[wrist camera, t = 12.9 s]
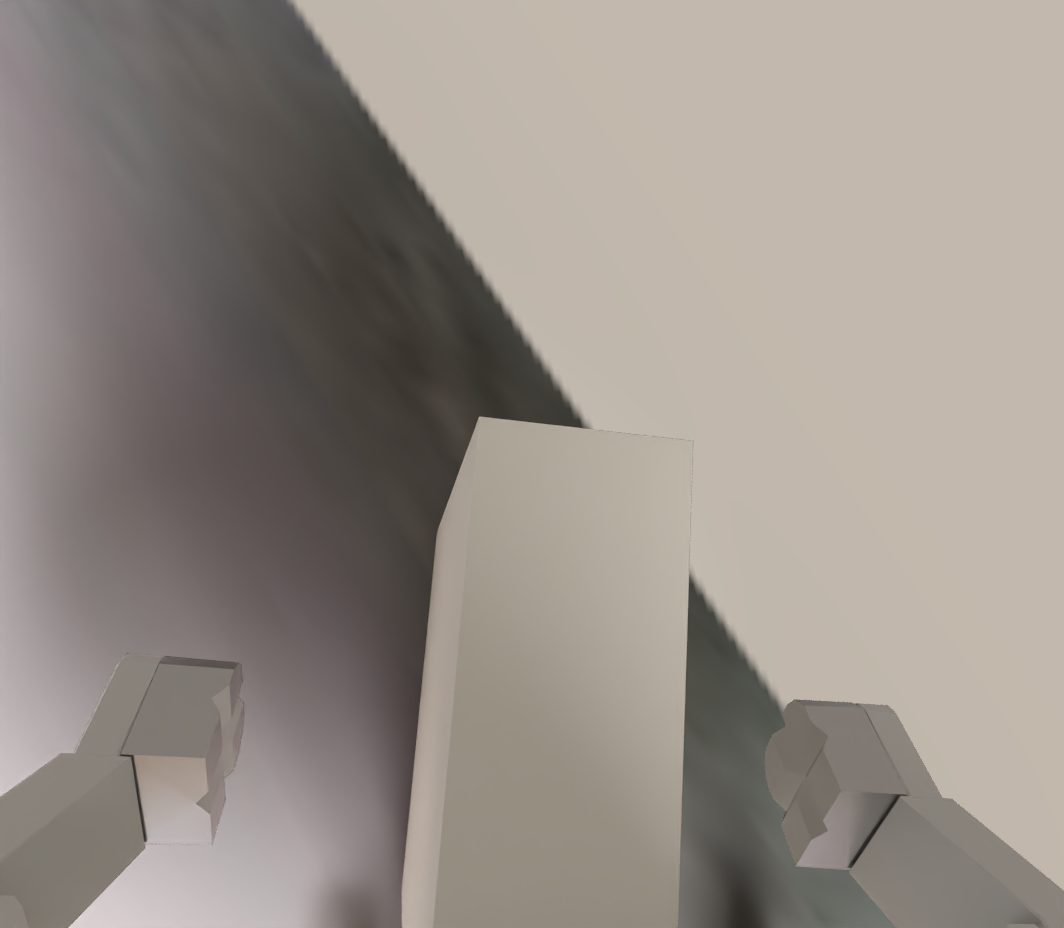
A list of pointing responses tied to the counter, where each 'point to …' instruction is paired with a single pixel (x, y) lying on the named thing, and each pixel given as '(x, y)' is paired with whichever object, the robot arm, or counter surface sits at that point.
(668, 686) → the cream board
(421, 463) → the counter surface
